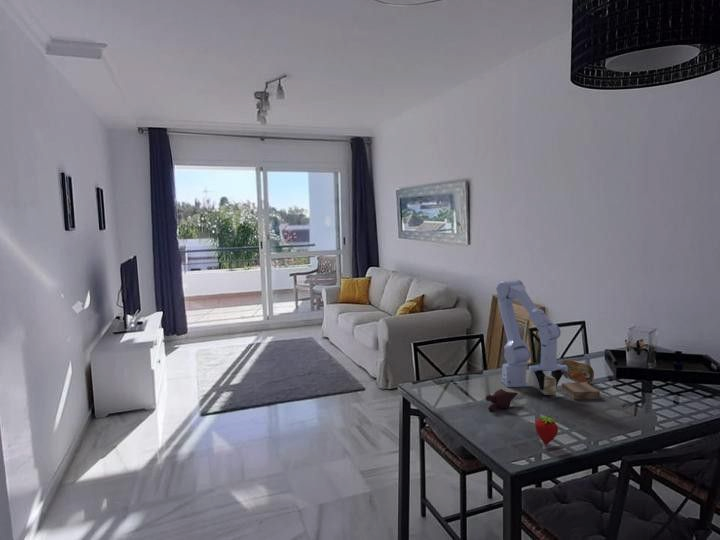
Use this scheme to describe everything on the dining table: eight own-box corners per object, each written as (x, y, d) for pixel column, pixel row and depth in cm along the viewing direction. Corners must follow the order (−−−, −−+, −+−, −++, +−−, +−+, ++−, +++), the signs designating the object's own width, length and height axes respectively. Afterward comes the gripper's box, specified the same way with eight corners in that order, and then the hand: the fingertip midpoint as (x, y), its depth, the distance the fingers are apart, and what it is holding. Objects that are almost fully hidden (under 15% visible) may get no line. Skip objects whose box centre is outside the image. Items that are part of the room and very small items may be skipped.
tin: (560, 376, 206) (560, 357, 205) (565, 375, 208) (565, 356, 207) (589, 386, 193) (590, 366, 192) (595, 385, 194) (595, 365, 193)
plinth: (573, 399, 179) (574, 392, 179) (561, 390, 189) (561, 383, 188) (599, 398, 179) (599, 391, 179) (585, 389, 189) (586, 382, 189)
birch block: (544, 394, 181) (544, 379, 181) (539, 390, 186) (540, 375, 185) (555, 394, 181) (556, 379, 181) (550, 390, 186) (551, 375, 185)
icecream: (508, 383, 180) (478, 393, 173) (522, 384, 173) (491, 395, 167) (512, 401, 179) (482, 412, 173) (526, 403, 173) (496, 414, 166)
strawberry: (544, 437, 149) (545, 406, 148) (562, 447, 142) (563, 415, 141) (529, 440, 147) (530, 409, 146) (547, 451, 140) (547, 419, 139)
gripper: (534, 358, 178) (533, 393, 179) (571, 357, 178) (570, 391, 180) (527, 353, 185) (526, 386, 186) (563, 352, 185) (562, 385, 187)
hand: (547, 388), depth 183 cm, fingers closed on birch block, 4 cm apart
